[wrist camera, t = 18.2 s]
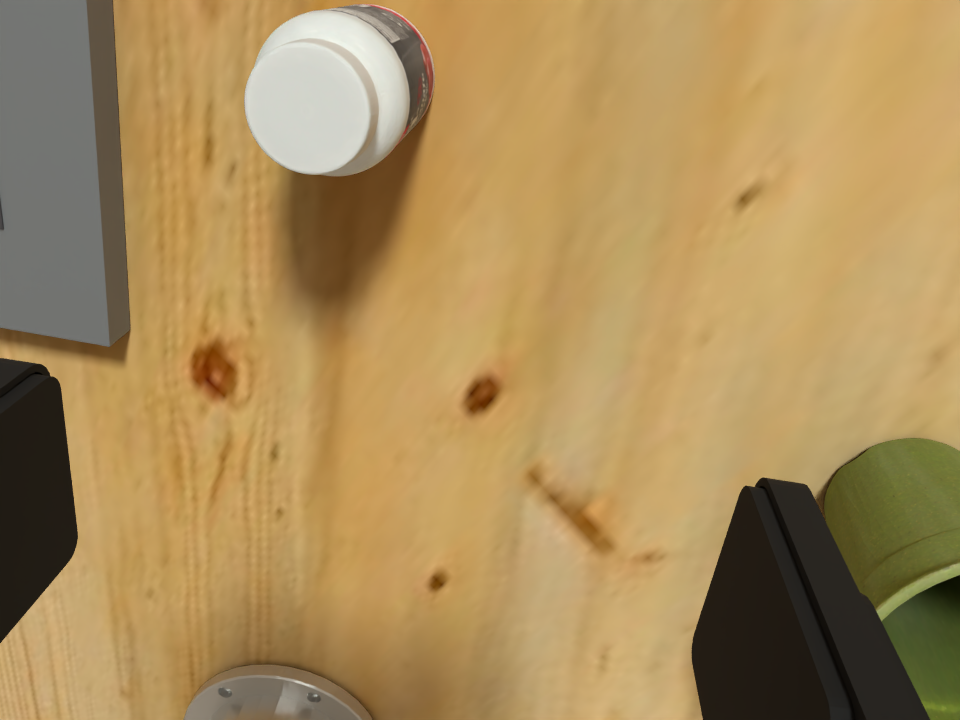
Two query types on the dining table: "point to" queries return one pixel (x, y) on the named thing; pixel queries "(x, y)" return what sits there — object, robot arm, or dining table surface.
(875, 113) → the dining table surface
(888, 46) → the dining table surface
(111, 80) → the switch board
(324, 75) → the pill bottle
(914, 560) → the plant pot
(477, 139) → the dining table surface
